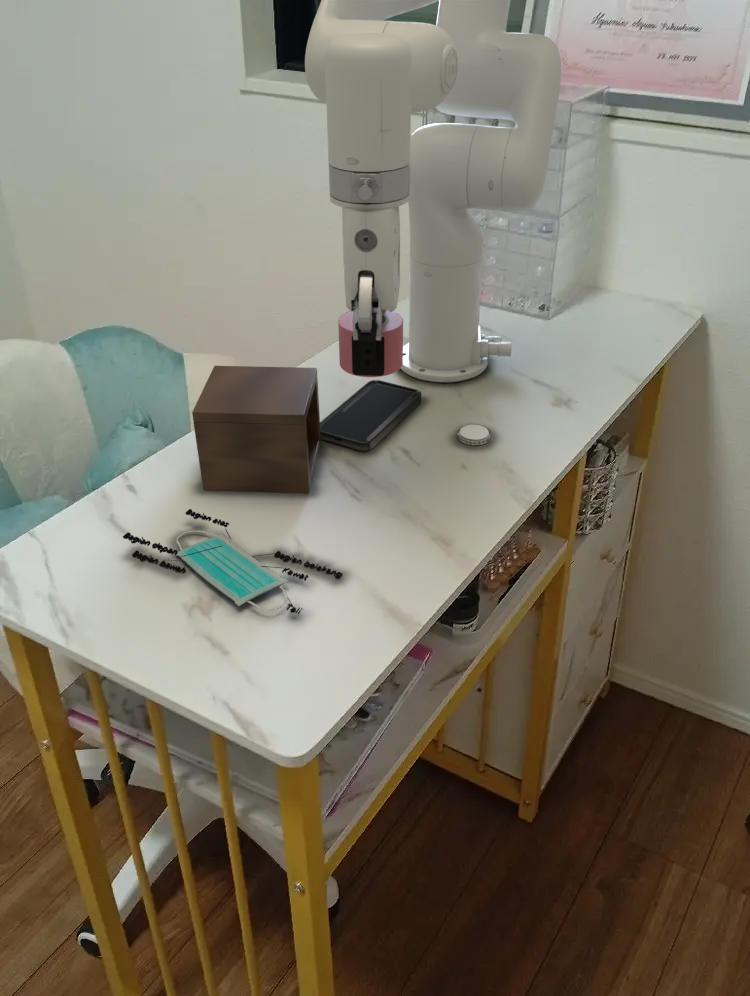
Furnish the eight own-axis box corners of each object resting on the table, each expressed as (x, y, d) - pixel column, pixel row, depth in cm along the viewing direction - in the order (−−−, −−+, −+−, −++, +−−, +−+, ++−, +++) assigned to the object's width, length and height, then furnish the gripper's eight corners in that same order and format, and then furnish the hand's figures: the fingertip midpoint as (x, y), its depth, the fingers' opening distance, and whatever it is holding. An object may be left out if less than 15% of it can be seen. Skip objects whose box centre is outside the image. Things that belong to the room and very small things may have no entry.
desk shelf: (321, 441, 110) (317, 367, 104) (309, 493, 101) (304, 415, 95) (223, 439, 111) (214, 365, 105) (203, 490, 102) (191, 412, 96)
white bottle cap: (452, 440, 109) (452, 436, 109) (464, 425, 112) (464, 421, 112) (483, 447, 108) (484, 443, 108) (495, 432, 111) (495, 427, 111)
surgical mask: (110, 535, 88) (173, 482, 95) (118, 569, 90) (179, 515, 98) (291, 597, 80) (345, 534, 87) (295, 632, 83) (347, 568, 90)
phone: (424, 391, 117) (367, 444, 107) (424, 399, 118) (367, 452, 107) (371, 378, 121) (311, 428, 110) (371, 385, 121) (311, 436, 111)
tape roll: (404, 350, 97) (404, 307, 94) (401, 378, 92) (401, 333, 89) (342, 349, 98) (341, 305, 95) (336, 376, 92) (334, 331, 89)
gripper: (405, 211, 77) (403, 398, 87) (413, 160, 91) (410, 325, 101) (318, 209, 77) (325, 396, 87) (339, 159, 92) (343, 324, 102)
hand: (371, 357), depth 94 cm, fingers closed on tape roll, 6 cm apart
